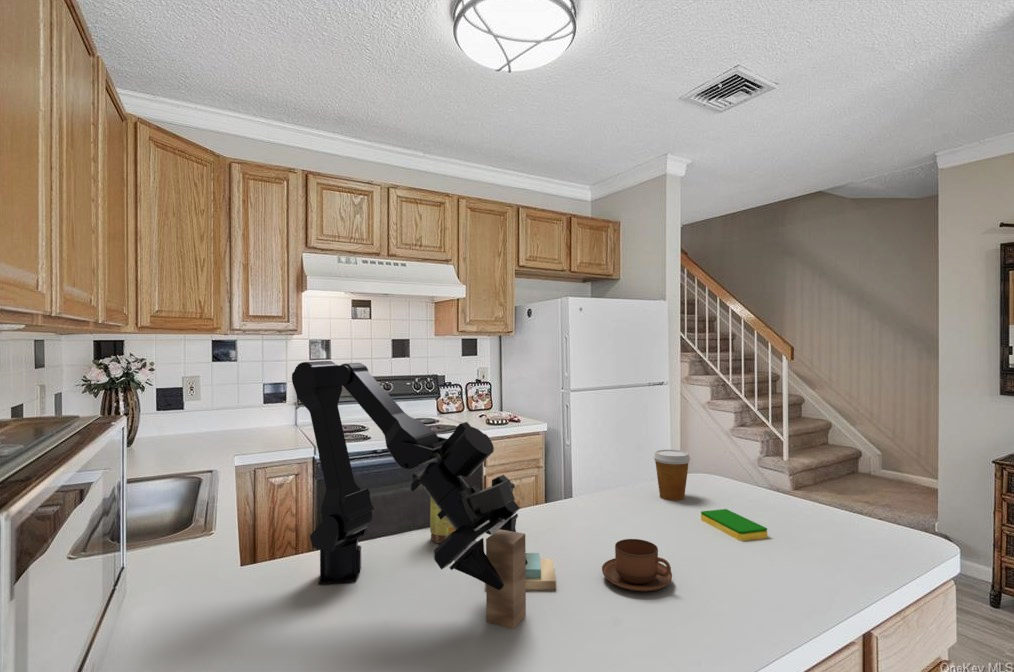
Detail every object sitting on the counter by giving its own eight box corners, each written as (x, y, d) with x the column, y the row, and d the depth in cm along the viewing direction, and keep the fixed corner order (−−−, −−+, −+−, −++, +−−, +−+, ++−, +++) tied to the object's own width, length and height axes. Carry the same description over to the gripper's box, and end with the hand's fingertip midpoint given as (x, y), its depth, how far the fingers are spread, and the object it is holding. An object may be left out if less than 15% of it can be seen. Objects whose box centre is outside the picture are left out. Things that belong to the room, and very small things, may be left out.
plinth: (485, 589, 90) (485, 571, 90) (488, 566, 99) (488, 550, 99) (555, 589, 90) (555, 572, 90) (552, 567, 99) (552, 550, 99)
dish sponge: (726, 518, 126) (726, 508, 126) (768, 539, 113) (768, 528, 113) (700, 521, 124) (700, 511, 124) (740, 543, 111) (740, 531, 111)
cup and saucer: (673, 572, 97) (672, 538, 97) (671, 603, 85) (670, 565, 85) (607, 563, 101) (607, 531, 101) (596, 591, 89) (596, 555, 89)
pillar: (486, 621, 80) (486, 538, 80) (499, 608, 84) (499, 529, 84) (513, 628, 78) (513, 543, 78) (525, 614, 82) (525, 533, 82)
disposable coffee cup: (686, 504, 135) (686, 458, 135) (649, 499, 140) (649, 454, 140) (694, 495, 144) (693, 451, 144) (658, 490, 148) (658, 447, 148)
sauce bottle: (454, 546, 109) (454, 449, 109) (426, 543, 110) (425, 448, 110) (463, 534, 115) (463, 443, 115) (436, 532, 117) (436, 442, 117)
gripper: (451, 476, 74) (523, 569, 69) (508, 451, 91) (570, 524, 86) (405, 524, 78) (471, 616, 73) (469, 491, 94) (526, 564, 89)
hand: (514, 576), depth 80 cm, fingers open, 8 cm apart
